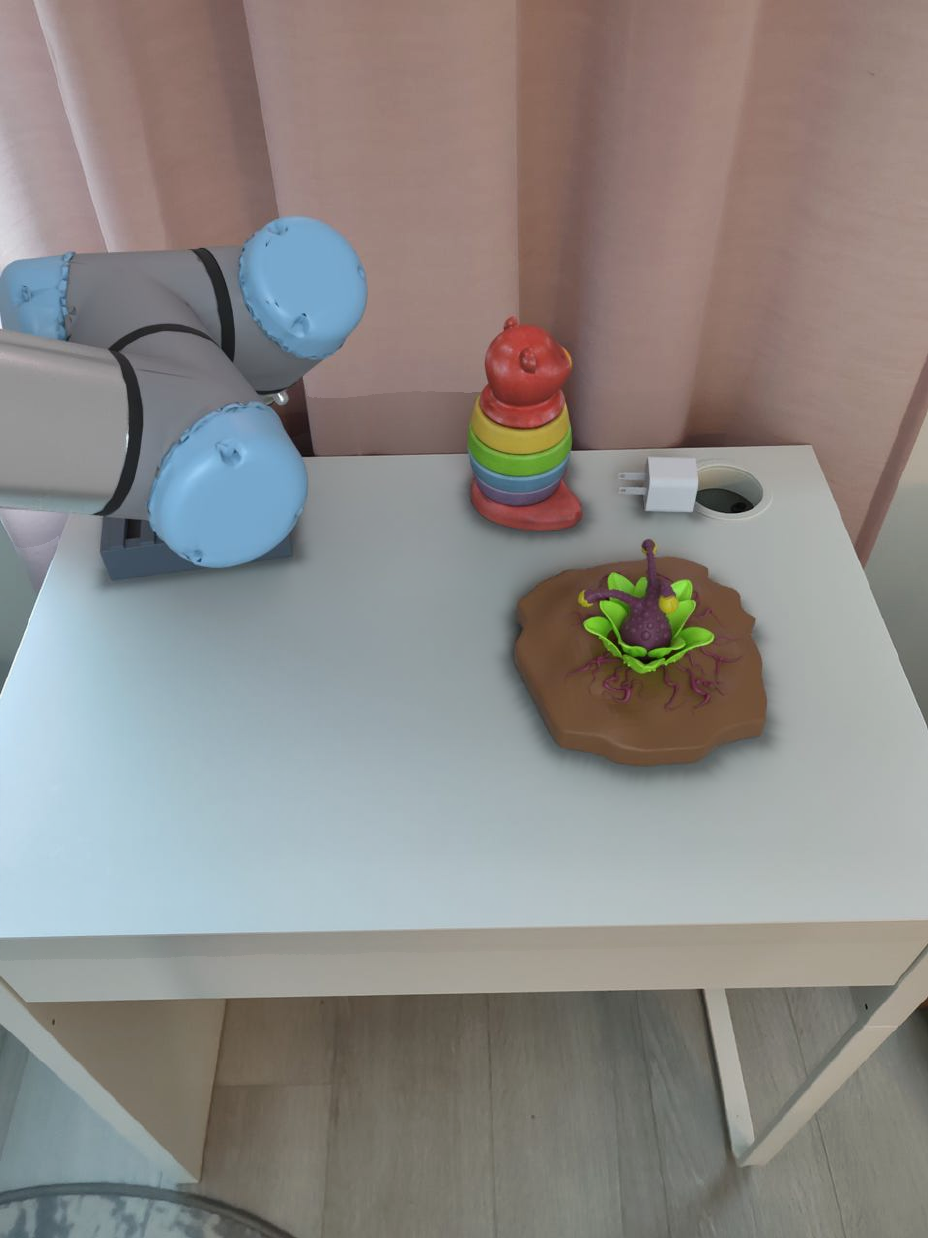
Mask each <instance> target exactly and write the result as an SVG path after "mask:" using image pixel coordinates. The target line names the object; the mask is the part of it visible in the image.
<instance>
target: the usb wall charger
mask: <svg viewBox="0 0 928 1238" xmlns="http://www.w3.org/2000/svg"><path fill="white" fill-rule="evenodd" d="M622 475H623V476H622ZM616 478H617V479H618V480H626V481H627V480H628V481H630V480H631V481H642V487H638V486H621V487H618V491H617V494H619V495H620V494H621V495H638V496H639V495H640V496H641V495H642V499H643V509H644V512H658V513H659V512H660V513H661V512H662V513H663V512H664V513H665V512H666V513H693V512H694V507H695V502H696V499H697V498H696V497H697V494H698V490H699V489H698V488H699V476H698V468H697V460H696V457H682V456H681V457H680V456H646V460H645V466H644V472H617V476H616ZM622 490H624V491H622Z"/></svg>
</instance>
